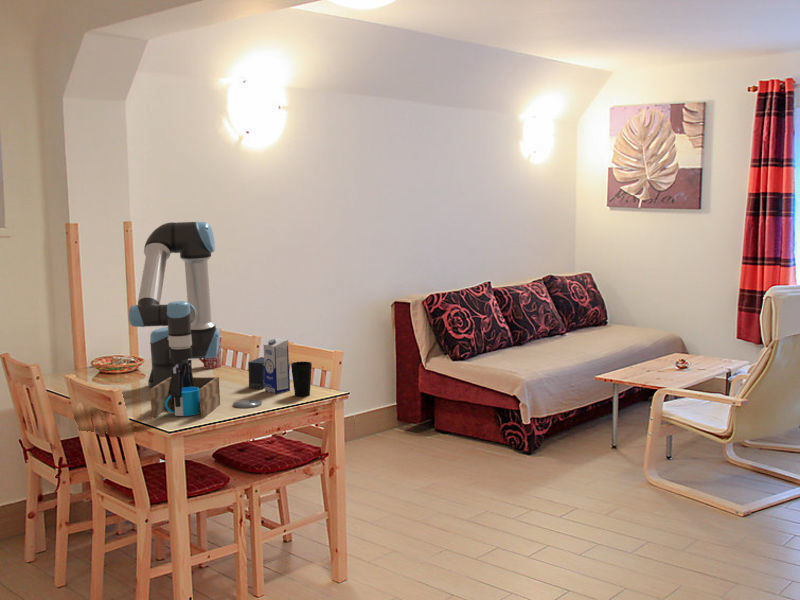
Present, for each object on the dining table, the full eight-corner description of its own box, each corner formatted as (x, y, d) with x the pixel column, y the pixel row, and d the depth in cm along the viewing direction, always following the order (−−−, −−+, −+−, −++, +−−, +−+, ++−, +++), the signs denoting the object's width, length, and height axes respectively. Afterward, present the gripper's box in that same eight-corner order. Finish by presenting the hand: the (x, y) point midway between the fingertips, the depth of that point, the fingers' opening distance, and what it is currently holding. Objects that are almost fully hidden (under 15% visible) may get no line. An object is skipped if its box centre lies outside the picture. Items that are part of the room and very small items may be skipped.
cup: (309, 391, 304) (308, 360, 302) (315, 396, 297) (314, 364, 295) (289, 394, 301) (288, 362, 299) (294, 398, 294) (293, 366, 292)
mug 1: (195, 408, 282) (194, 385, 281) (203, 413, 275) (202, 390, 274) (161, 413, 275) (160, 390, 274) (169, 419, 268) (167, 395, 267)
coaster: (237, 401, 292) (237, 399, 292) (264, 401, 291) (264, 399, 291) (229, 408, 282) (229, 406, 282) (257, 408, 281) (257, 406, 281)
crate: (171, 404, 289) (169, 377, 287) (220, 404, 287) (218, 377, 286) (151, 418, 271) (150, 389, 270) (203, 418, 269) (202, 389, 268)
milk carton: (290, 390, 306) (288, 338, 304) (275, 393, 302) (273, 341, 299) (279, 387, 312) (277, 336, 309) (265, 390, 307) (262, 339, 304)
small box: (263, 389, 309) (262, 362, 308) (248, 388, 311) (247, 361, 310) (276, 383, 319) (275, 357, 318) (261, 382, 321) (260, 356, 320)
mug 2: (220, 363, 359) (218, 334, 358) (225, 367, 351) (224, 337, 350) (191, 367, 354) (190, 336, 352) (196, 370, 346) (195, 339, 344)
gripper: (180, 341, 284) (183, 404, 287) (158, 353, 263) (162, 420, 266) (201, 341, 283) (204, 404, 286) (180, 353, 263) (184, 420, 266)
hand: (184, 411), depth 276 cm, fingers closed on mug 1, 8 cm apart
